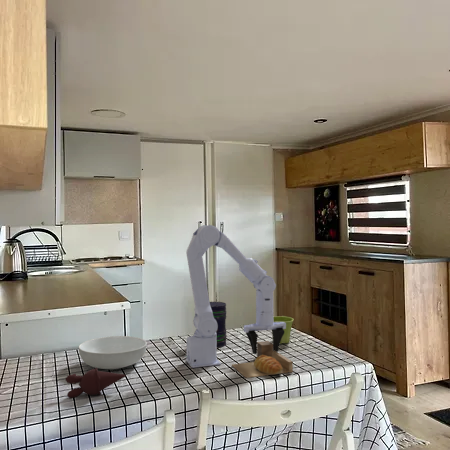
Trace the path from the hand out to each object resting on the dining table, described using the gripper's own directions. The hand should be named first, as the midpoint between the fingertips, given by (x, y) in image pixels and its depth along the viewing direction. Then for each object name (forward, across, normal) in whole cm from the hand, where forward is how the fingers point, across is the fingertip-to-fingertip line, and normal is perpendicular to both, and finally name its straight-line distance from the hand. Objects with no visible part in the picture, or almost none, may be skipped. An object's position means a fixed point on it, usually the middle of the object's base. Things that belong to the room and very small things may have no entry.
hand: (265, 352), depth 144 cm
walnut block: (+2, 0, 0) cm, 2 cm away
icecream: (+2, -54, -13) cm, 56 cm away
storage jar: (+2, -11, +22) cm, 25 cm away
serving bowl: (+2, -48, +10) cm, 49 cm away
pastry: (+2, -4, -12) cm, 13 cm away
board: (+2, -6, -10) cm, 11 cm away
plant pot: (+2, +14, +16) cm, 21 cm away
